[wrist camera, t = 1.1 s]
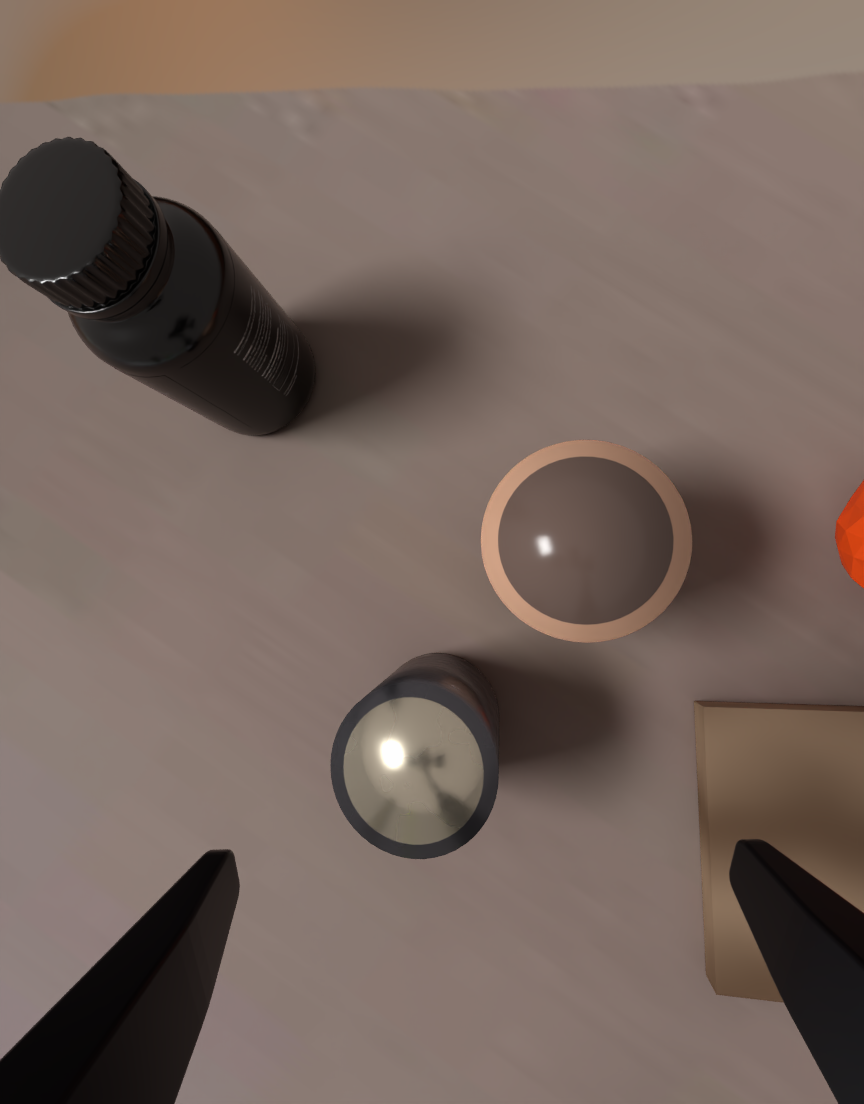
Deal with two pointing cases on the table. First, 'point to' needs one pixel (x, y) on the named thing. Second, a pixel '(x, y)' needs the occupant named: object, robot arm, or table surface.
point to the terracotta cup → (586, 541)
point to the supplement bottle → (152, 288)
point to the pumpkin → (852, 536)
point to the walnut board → (774, 815)
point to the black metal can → (420, 758)
